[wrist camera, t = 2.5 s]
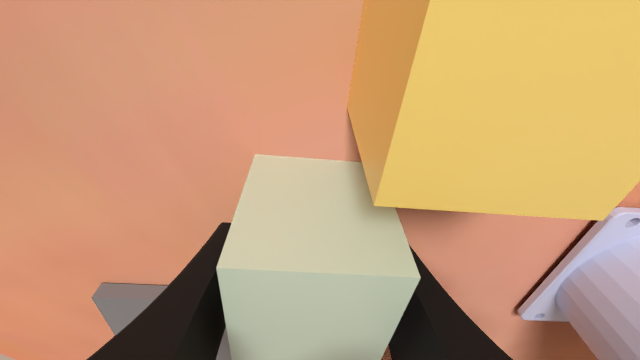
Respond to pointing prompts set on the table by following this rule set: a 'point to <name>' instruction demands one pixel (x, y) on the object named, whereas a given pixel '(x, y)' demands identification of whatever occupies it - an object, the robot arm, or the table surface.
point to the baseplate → (135, 307)
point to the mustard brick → (499, 105)
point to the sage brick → (313, 264)
